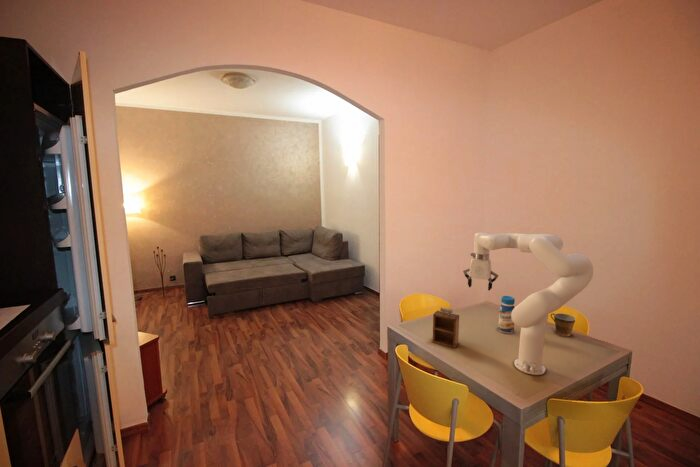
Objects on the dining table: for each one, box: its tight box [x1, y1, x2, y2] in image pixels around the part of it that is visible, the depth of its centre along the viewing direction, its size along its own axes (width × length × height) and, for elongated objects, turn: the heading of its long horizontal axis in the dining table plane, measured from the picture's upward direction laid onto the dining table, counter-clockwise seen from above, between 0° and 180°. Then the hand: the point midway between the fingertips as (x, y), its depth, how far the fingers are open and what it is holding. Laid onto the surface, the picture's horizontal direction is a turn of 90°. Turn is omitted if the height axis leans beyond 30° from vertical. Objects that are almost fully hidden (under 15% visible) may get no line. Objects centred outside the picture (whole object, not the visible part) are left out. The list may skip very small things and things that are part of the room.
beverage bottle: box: [497, 295, 516, 334], centre depth 183 cm, size 8×8×20 cm
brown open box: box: [432, 307, 460, 349], centre depth 170 cm, size 6×12×19 cm, turn 56°
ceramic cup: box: [550, 312, 576, 337], centre depth 181 cm, size 13×10×10 cm
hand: (479, 288), depth 168 cm, fingers open, 9 cm apart
